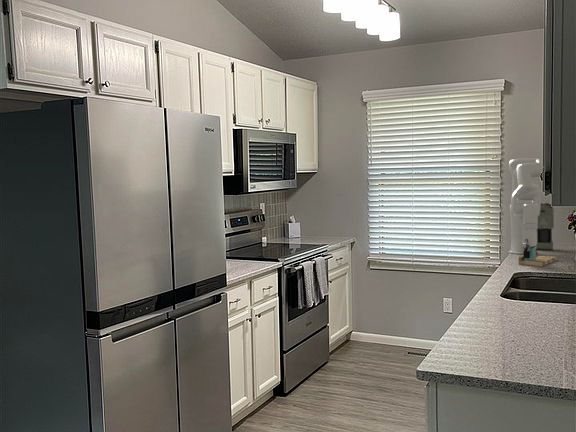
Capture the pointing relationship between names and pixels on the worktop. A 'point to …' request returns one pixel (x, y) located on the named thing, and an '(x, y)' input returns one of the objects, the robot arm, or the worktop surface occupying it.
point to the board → (537, 260)
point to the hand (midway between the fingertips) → (530, 256)
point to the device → (545, 227)
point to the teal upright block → (531, 254)
